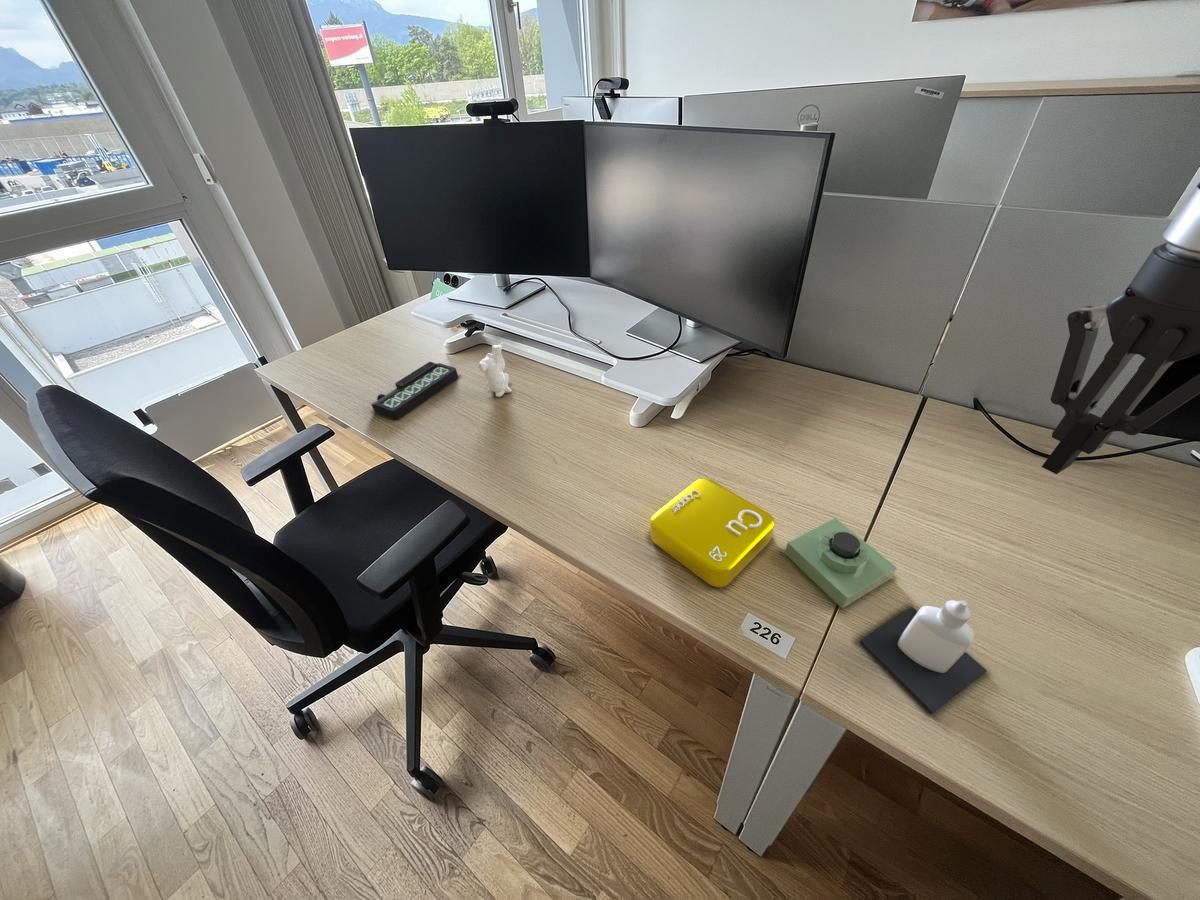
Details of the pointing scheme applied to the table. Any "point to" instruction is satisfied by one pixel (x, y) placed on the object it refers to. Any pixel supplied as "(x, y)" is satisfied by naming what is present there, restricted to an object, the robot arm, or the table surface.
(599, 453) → the table surface
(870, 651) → the slate mat
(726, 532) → the element tile
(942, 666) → the eye dropper bottle
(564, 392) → the table surface
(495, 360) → the koala figurine
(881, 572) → the button housing
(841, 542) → the black round knob
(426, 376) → the digital display
